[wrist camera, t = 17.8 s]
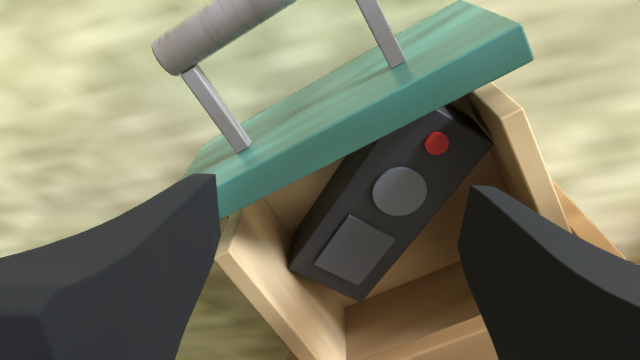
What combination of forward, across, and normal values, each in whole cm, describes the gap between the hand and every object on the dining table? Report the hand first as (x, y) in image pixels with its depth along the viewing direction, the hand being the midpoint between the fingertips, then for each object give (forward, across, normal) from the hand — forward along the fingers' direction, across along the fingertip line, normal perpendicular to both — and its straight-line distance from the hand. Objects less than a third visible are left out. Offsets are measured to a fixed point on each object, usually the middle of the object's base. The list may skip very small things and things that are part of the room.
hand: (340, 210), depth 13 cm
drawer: (+9, -1, +2) cm, 9 cm away
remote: (+8, -2, +3) cm, 9 cm away
